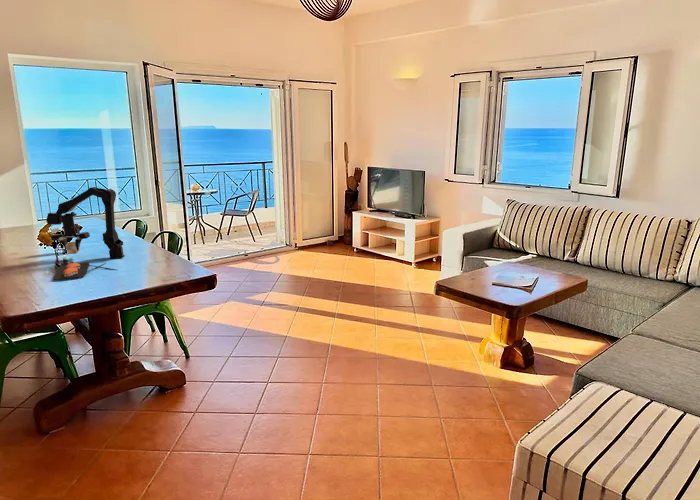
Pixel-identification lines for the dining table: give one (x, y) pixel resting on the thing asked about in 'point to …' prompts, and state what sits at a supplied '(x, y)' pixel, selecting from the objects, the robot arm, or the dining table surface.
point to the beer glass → (57, 230)
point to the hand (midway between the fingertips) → (73, 250)
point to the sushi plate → (74, 270)
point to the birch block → (71, 248)
